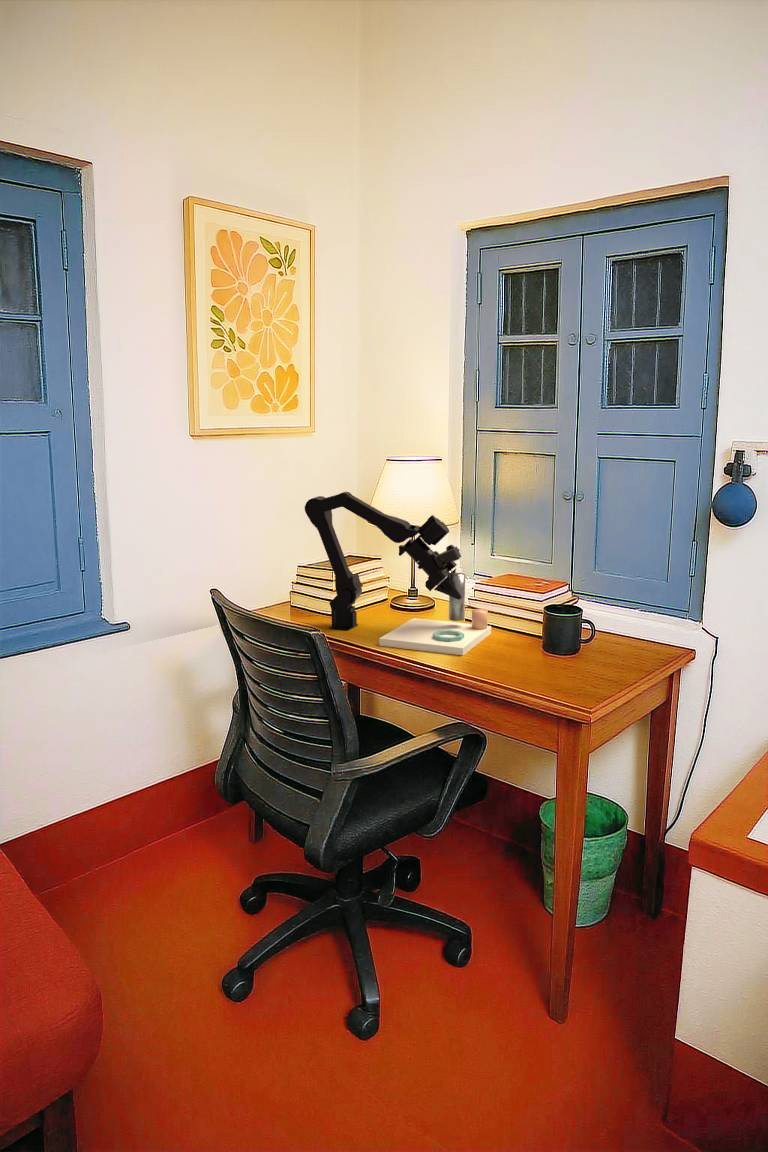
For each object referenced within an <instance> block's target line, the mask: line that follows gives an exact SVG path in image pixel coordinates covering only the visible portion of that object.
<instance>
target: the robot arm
mask: <svg viewBox="0 0 768 1152" xmlns="http://www.w3.org/2000/svg"><path fill="white" fill-rule="evenodd" d="M338 508H344V509H346V510H348V511H349V512H351V513H353V514H354V515H356V516H357V517H359V518H361V519H362V520H364V521H367V522H368V523H370V524H372V525H374V526H375V527H376V528H378V529H379V530H380V531H381V533H383V534H384V536H385V537H386V538H388V539H389V540H391V542H393V543H395V544H400V543H403V542H405V543H404V544H400V545H398V556H399V557H401V556H402V555H404V554H405V553H406V554H407V555H408V556H409V557H410V558H411V559H412V560H413V561H414V563H416V564H417V568H418V570H422V571H423V572H424V573H425V574H426V575H427V576H428V577H427V580H425V585H424V586H425V588H426V589H427V590H428V591H429V592H431V591H432V590H434V591H435V592H436V591H437V592H439V593H442V594H445V595H447V596H448V597H449V596H451V597H454V598H456V599H458V600H459V599H461V595H460V594H459V592H458V591H457V589H456V588H455V586H454V585H453V584H452V582H451V574H450V573H457V568H456V566H457V565H458V564H457V563H456V561H458V560H460V558H461V557H462V555H461V553H460V548H458V546H457V545H456V546H455V545H454V544H450V545H447V546H446V549H445V551H443V552H441V553H439V552H438V551H436V550H435V551H433V549H431V547H430V546H431V545H432V546H436V545H438V543H439V542H440V541H442V540H443V538H445V537H446V536H447V535H448V534H449V533H450V529H449V527H448V526H447V524H445V523H444V521H441V520H440V518H438V517H436V516H435V515H434V514H432V515H430V517H428V519H427V520H426V521H425V522H424V523H423V524H422V525H421V526H419V525H414V524H411V523H410V522H409V521H407V520H405V519H402V518H399V517H397V516H393V515H389V514H386V513H384V512H383V511H380V510H379V509H377V508H375V507H374V506H372V505H371V504H368V503H367V502H365V501H364V500H362V499H360V498H358V497H356V496H354V494H352V493H351V492H349V491H343V492H340V493H338V494H334V495H331V496H328V497H325V496H322V495H319V496H315V497H312V498H310V499H308V500H307V501H306V503H305V505H304V512H305V515H306V516H307V518H308V519H309V521H310V523H311V524H312V525H313V526H314V527H315V529H316V530H317V532H318V533H319V537H320V539H321V542H322V545H323V547H324V550H325V553H326V555H327V558H328V560H329V564H330V565H331V568H332V572H333V574H334V586H335V593H336V596H334V598H332V599H331V600H330V602H329V606H330V610H331V625H329V626H328V628H329V629H333V630H341V631H342V630H344V631H349V630H352V629H354V628H356V627H357V626H358V623H357V621H358V619H357V615H358V614H357V611H356V605H355V604H356V601H357V600H358V599H359V598H360V597H361V595H362V593H363V588H362V587H363V586H364V584H363V583H362V582H361V579H360V575H359V573H358V572H357V573H355V574H354V573H353V572H352V571H351V570H350V568H349V565H348V562H347V560H346V557H345V555H344V552H343V549H342V546H341V543H340V541H339V538H338V536H337V533H336V531H335V528H334V525H333V510H336V509H338ZM417 535H418V536H417ZM416 536H417V537H416ZM414 537H416V538H415V539H412V538H414ZM406 541H407V542H406Z"/></svg>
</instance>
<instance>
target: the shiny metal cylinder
mask: <svg viewBox="0 0 768 1152" xmlns="http://www.w3.org/2000/svg"><path fill="white" fill-rule="evenodd" d="M450 574H451V582H452V584H453V585H454V586H455V588H456V589H457V591H458V592H459V594H460V595H461V599H459V600H458V599H456V598H454V597H451V596H449V595H448V620H449V621H451V622H462V621H464V620H465V610H466V609H465V607H466V606H465V605H466V604H465V603H466V601H465V599H466V595H465V594H466V574H465V573H464V572H456V573H450Z"/></svg>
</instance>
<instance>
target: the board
mask: <svg viewBox="0 0 768 1152" xmlns="http://www.w3.org/2000/svg"><path fill="white" fill-rule="evenodd" d="M491 634H492V626H491V625H487V629H485V630H475V629H472V623H465V622H464V623H463V622H457V621H445V620H436V619H425V618H415V617H413V618H410V619H409V620H408V621H406V622H404V623H402V624H401V625H399V626H397V627H396V628H394V629H392V630H390V631H389V632H388V633H386V634H384V635H383V636H381V637H379V638H378V640H379V641H378V642H379V643H378V646H382V647H387V648H388V647H390V648H397V649H398V648H399V649H404V650H405V649H407V650H413V651H423V652H430V653H439V654H447V655H456V656H464V655H466V654H467V653H468V652H469V651H470V650H472V649H473V648H474V647H476V646H477V645H478V644H480V642H482V641H484V640H485V639H486V638H487V637H488V636H489V635H491Z"/></svg>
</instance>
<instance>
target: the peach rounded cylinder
mask: <svg viewBox="0 0 768 1152" xmlns="http://www.w3.org/2000/svg"><path fill="white" fill-rule="evenodd" d="M488 612H489V611H488V610H487V609H485V608H473V609H472V610H471V624H472V629H475V630H485V629H487V626H488V620H489V619H488V617H489V615H488Z"/></svg>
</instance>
